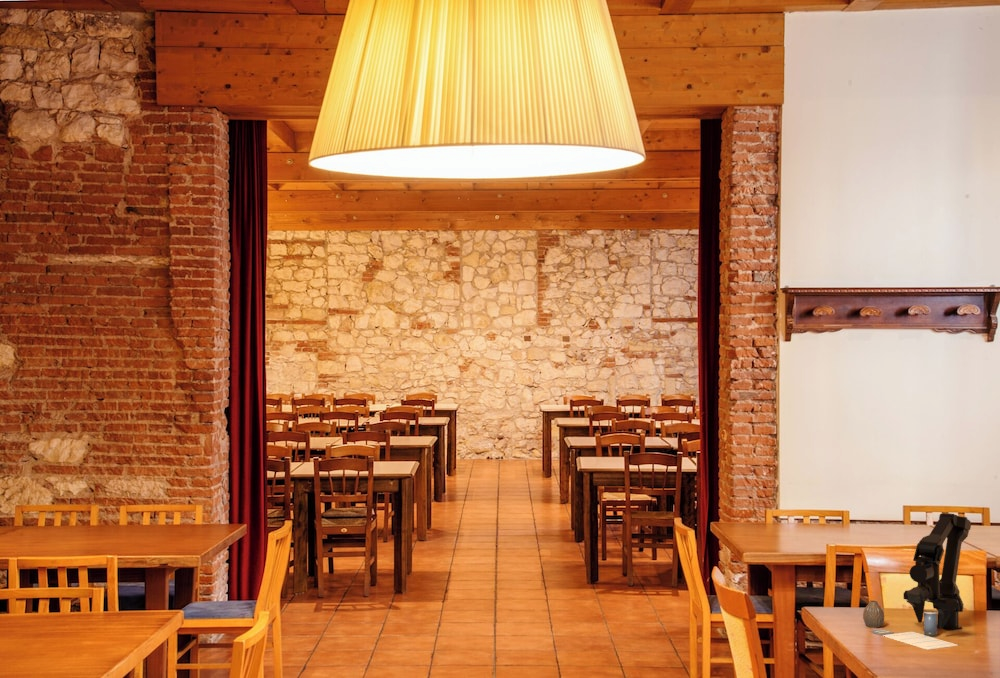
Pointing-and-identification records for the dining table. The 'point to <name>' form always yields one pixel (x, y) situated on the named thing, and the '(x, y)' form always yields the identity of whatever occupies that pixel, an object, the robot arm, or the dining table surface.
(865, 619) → the vase
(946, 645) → the paper
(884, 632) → the grey striped tile
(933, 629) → the grey capped bottle
